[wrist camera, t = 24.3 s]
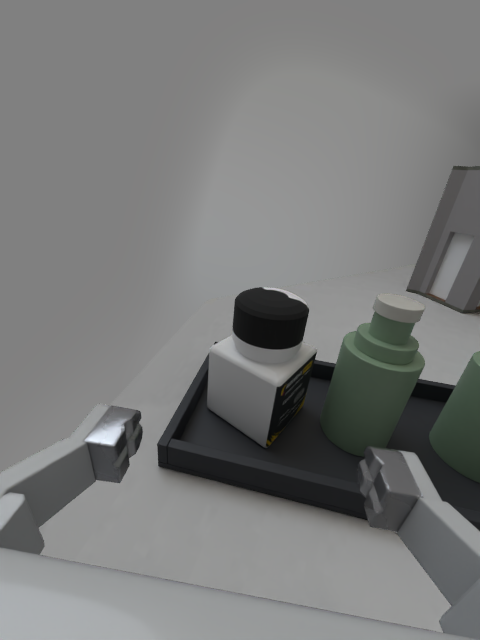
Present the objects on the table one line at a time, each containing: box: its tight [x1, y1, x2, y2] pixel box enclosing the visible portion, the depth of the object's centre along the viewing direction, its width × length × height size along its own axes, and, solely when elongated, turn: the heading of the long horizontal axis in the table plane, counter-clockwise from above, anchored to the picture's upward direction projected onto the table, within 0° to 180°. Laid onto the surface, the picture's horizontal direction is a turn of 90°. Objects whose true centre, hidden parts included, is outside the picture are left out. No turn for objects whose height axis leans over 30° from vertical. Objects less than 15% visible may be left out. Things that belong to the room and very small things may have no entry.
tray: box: [157, 342, 480, 531], centre depth 25 cm, size 32×16×2 cm, turn 79°
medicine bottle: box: [207, 287, 317, 448], centre depth 24 cm, size 7×7×12 cm
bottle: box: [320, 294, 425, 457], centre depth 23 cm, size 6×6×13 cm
